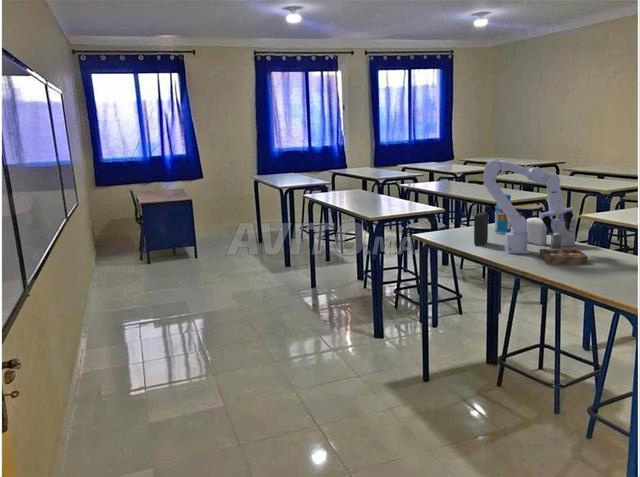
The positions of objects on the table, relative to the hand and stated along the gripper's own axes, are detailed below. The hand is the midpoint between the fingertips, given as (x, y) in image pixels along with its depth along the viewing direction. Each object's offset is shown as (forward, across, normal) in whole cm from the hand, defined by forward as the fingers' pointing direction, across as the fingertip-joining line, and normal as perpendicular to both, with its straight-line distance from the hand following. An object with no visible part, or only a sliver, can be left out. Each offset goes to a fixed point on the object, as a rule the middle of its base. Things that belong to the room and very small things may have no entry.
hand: (558, 231), depth 229 cm
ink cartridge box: (+10, +6, +13) cm, 18 cm away
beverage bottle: (+6, -10, +45) cm, 46 cm away
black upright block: (+5, -28, +24) cm, 37 cm away
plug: (+10, -2, 0) cm, 10 cm away
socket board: (+10, -4, -10) cm, 15 cm away
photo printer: (+8, -4, +19) cm, 21 cm away
